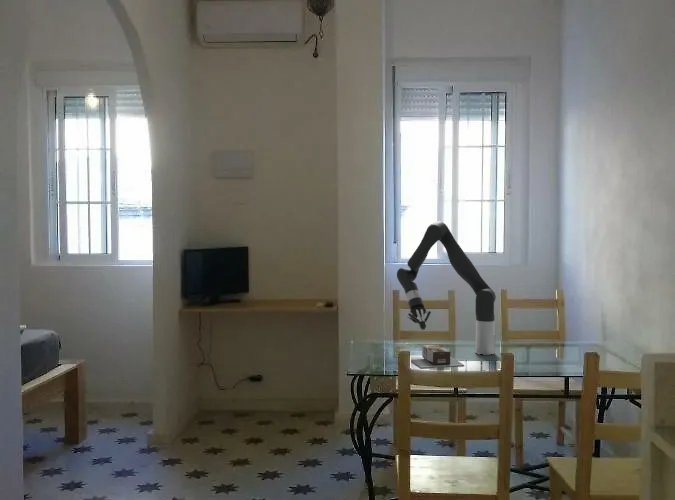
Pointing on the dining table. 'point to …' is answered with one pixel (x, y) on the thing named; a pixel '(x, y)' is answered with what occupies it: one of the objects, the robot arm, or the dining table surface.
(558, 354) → the dining table surface
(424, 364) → the mat
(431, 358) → the coffee box
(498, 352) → the dining table surface
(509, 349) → the dining table surface
